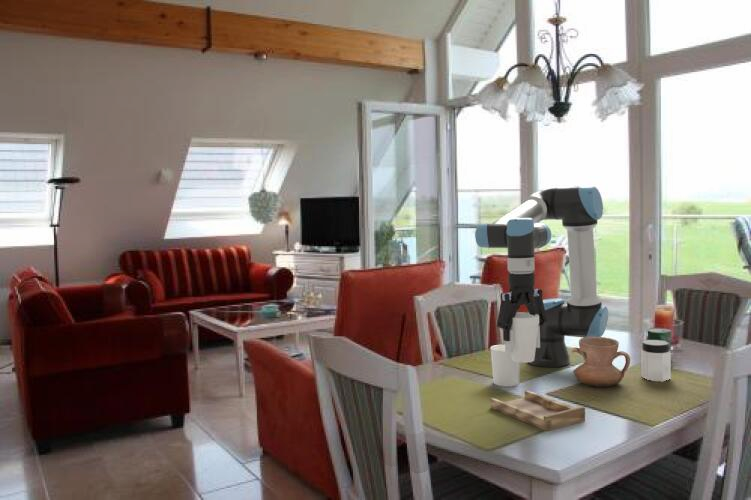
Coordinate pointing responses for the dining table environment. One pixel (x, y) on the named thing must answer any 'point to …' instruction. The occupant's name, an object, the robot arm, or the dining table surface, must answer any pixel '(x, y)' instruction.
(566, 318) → the robot arm
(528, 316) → the foam cup
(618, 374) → the ceramic jug
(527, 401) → the track
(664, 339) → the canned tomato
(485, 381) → the dining table surface
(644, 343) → the jar
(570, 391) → the dining table surface
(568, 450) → the dining table surface
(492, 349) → the candle holder
